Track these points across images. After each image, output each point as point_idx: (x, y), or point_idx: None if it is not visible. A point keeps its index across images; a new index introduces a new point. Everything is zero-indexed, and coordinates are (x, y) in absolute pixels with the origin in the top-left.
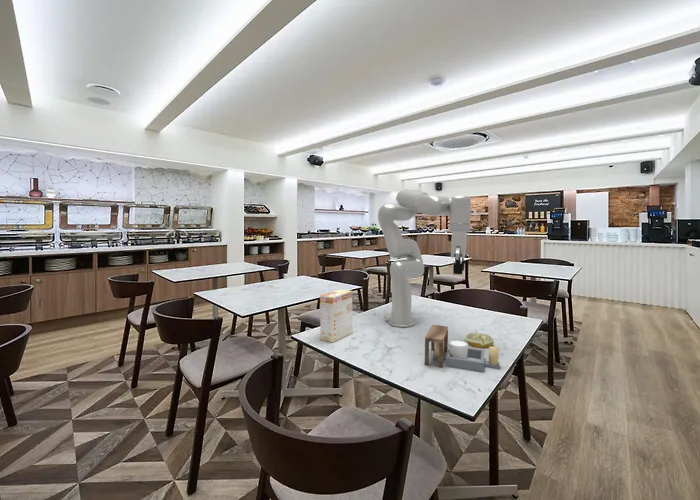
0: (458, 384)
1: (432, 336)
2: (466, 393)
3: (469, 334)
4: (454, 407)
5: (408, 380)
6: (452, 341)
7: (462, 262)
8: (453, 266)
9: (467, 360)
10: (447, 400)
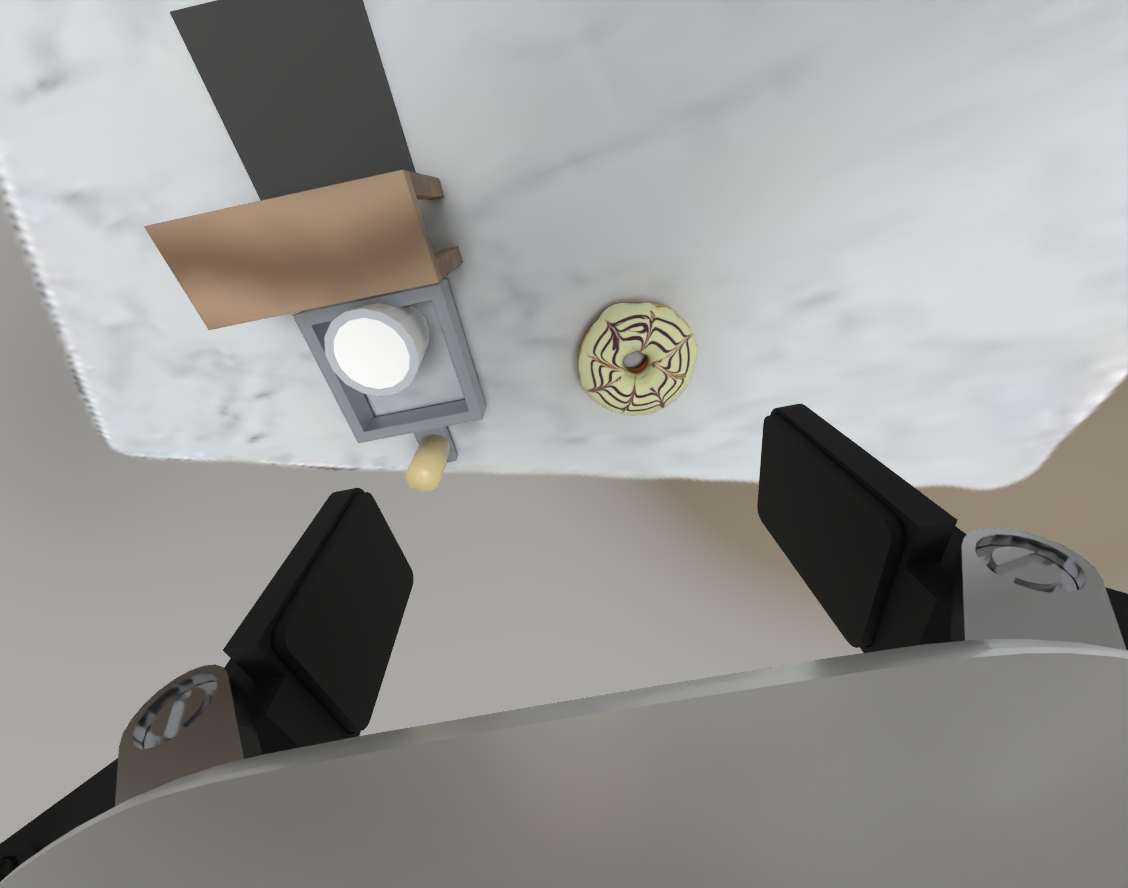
0: (231, 381)
1: (201, 260)
2: (201, 415)
3: (649, 321)
4: (96, 409)
5: (74, 210)
6: (375, 324)
7: (845, 612)
8: (267, 587)
9: (336, 393)
10: (108, 382)
